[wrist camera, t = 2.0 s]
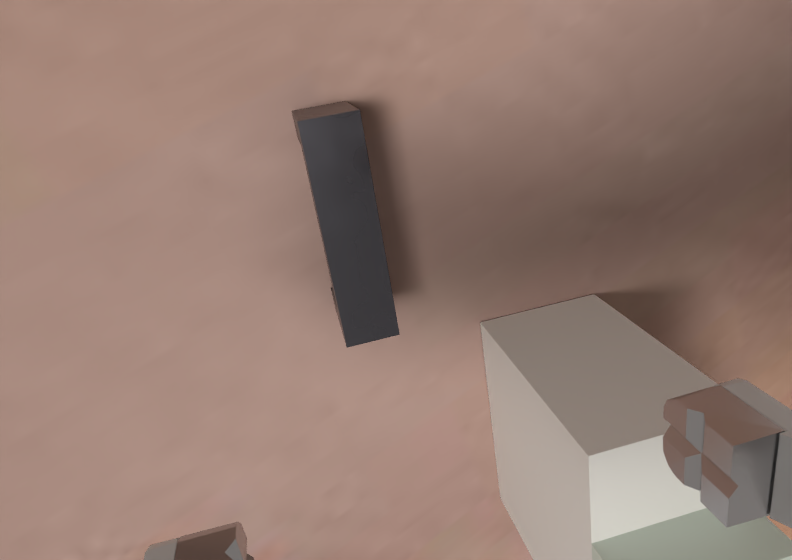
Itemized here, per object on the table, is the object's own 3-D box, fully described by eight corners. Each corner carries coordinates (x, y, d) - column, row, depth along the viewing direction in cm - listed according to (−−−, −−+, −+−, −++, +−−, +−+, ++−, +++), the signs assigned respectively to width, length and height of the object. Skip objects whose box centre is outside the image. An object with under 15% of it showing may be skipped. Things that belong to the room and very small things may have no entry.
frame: (291, 110, 27) (297, 121, 23) (344, 101, 27) (359, 109, 23) (335, 308, 31) (346, 347, 27) (381, 297, 31) (399, 334, 27)
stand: (480, 322, 33) (634, 513, 19) (594, 294, 34) (818, 457, 20) (500, 497, 38) (634, 747, 24) (598, 469, 39) (781, 694, 25)
